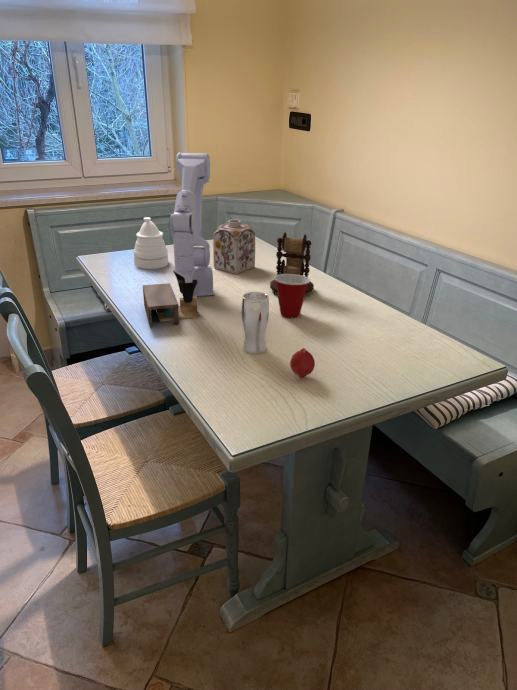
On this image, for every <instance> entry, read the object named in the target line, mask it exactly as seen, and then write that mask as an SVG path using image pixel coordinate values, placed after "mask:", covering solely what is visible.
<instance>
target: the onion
mask: <svg viewBox="0 0 517 690" xmlns="http://www.w3.org/2000/svg"><path fill="white" fill-rule="evenodd" d="M289 361H290V363H289V366H290V369H291V371H292V372H293V373H294V374H295V375H296V376H298V377H299V378H302V379H303V378H306V377H307V376H309V375H310V374H312V372H313V371H314V369H315V367H316V365H315V364H316V363H315V358H314V357H313V355H312V354H311V353H310V352H309V351H308V350H306V348H305V347H302V348H301V349H299V350H297V351H296V352H294V353H293V355H292V356H291V359H290V360H289Z"/></svg>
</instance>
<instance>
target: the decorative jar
mask: <svg viewBox="0 0 517 690" xmlns="http://www.w3.org/2000/svg"><path fill="white" fill-rule="evenodd" d="M212 237H213V240H212V242H213V244H212V245H213V248H212V249H213V254H212V255H213V268H214V269H215V270H219V271H224V272H227V273H231V274H235V275H239V274H241V273H243V272H246V271H248V270H251V269H253V268H255V266H256V265H255V264H256V232H255V230H254V229H253V228H252V227H250V225H249V224H245V223H242V222H241V220H240V219H229V220H228V221H227V223H224V224H221V225H219V226H218V227H217V229H216V230H215V231H214V232H213V236H212Z"/></svg>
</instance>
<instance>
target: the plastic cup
mask: <svg viewBox="0 0 517 690" xmlns="http://www.w3.org/2000/svg"><path fill="white" fill-rule="evenodd" d="M276 275H277V274H276ZM276 275H275V276H274V277H273V280H275V281H276V286H277V292H278V293H277V292H276V293H277V299H278V306H279V311H280V312H279V313H280V316H281V317H283V318H286V319H296V318H297V319H298V317H300V314H301V311H302V307H303V303H304V300H305V295H306V294H305V292H306V289H307V286H308V283H309V282H311V278H310V277H309V276H308V277H305V275H303V276H302V275H296V274H280V275H277V276H276Z"/></svg>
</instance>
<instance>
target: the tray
mask: <svg viewBox="0 0 517 690" xmlns="http://www.w3.org/2000/svg"><path fill="white" fill-rule="evenodd" d="M198 307H199V306H198V296H195V297H193V299H192V302H189V303H185V302H184V299H183V297H179V307H178V311H179V320H184V319H185V320H186V319H195V318H201V313H200V312H199V310H198V309H199V308H198ZM155 311H156V314H157V316H158V319H159V322H166V321H167V322H169V321H173V308H163V309H155Z"/></svg>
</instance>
